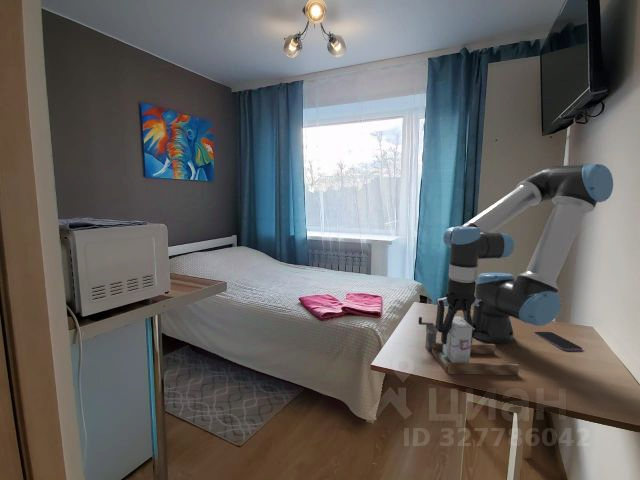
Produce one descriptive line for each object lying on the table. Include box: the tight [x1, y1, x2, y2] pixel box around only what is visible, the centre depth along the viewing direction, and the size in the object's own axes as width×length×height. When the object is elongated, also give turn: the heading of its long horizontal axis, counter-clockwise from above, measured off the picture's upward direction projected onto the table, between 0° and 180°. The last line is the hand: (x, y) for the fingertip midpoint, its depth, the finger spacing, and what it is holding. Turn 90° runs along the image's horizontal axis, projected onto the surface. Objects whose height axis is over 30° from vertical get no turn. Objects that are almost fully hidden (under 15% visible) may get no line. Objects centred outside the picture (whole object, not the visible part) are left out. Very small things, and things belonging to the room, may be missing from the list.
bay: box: [417, 316, 520, 376], centre depth 104 cm, size 24×17×11 cm
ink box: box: [442, 315, 473, 363], centre depth 102 cm, size 9×5×12 cm, turn 4°
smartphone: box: [533, 331, 583, 352], centre depth 121 cm, size 7×1×15 cm
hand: (455, 353), depth 103 cm, fingers closed on ink box, 5 cm apart
